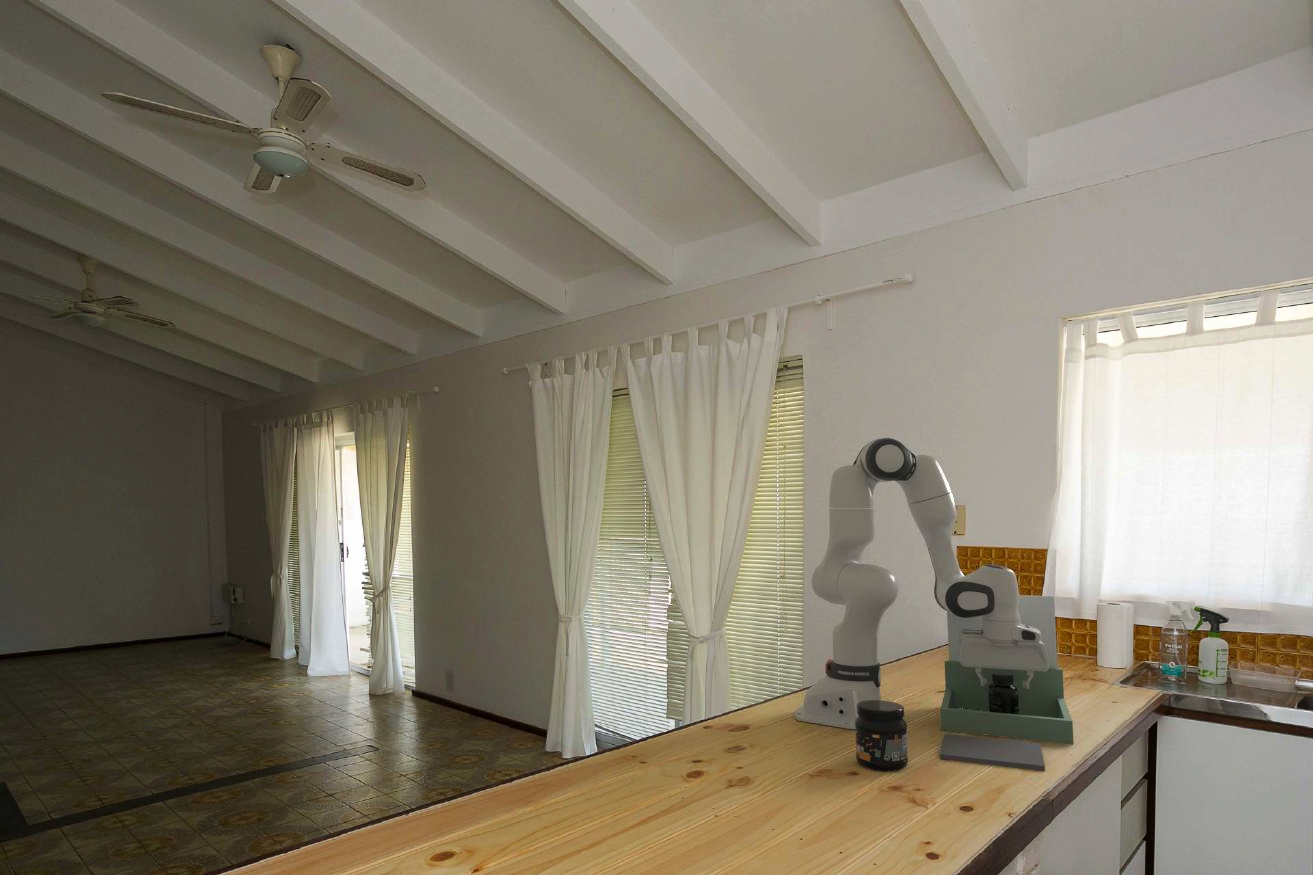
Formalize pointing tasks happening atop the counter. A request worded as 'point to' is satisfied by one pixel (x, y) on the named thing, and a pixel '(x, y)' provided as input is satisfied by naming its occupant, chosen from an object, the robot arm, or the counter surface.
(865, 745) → the supplement container
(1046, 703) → the cold frame
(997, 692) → the supplement bottle
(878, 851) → the counter surface
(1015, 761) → the mat
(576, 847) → the counter surface
